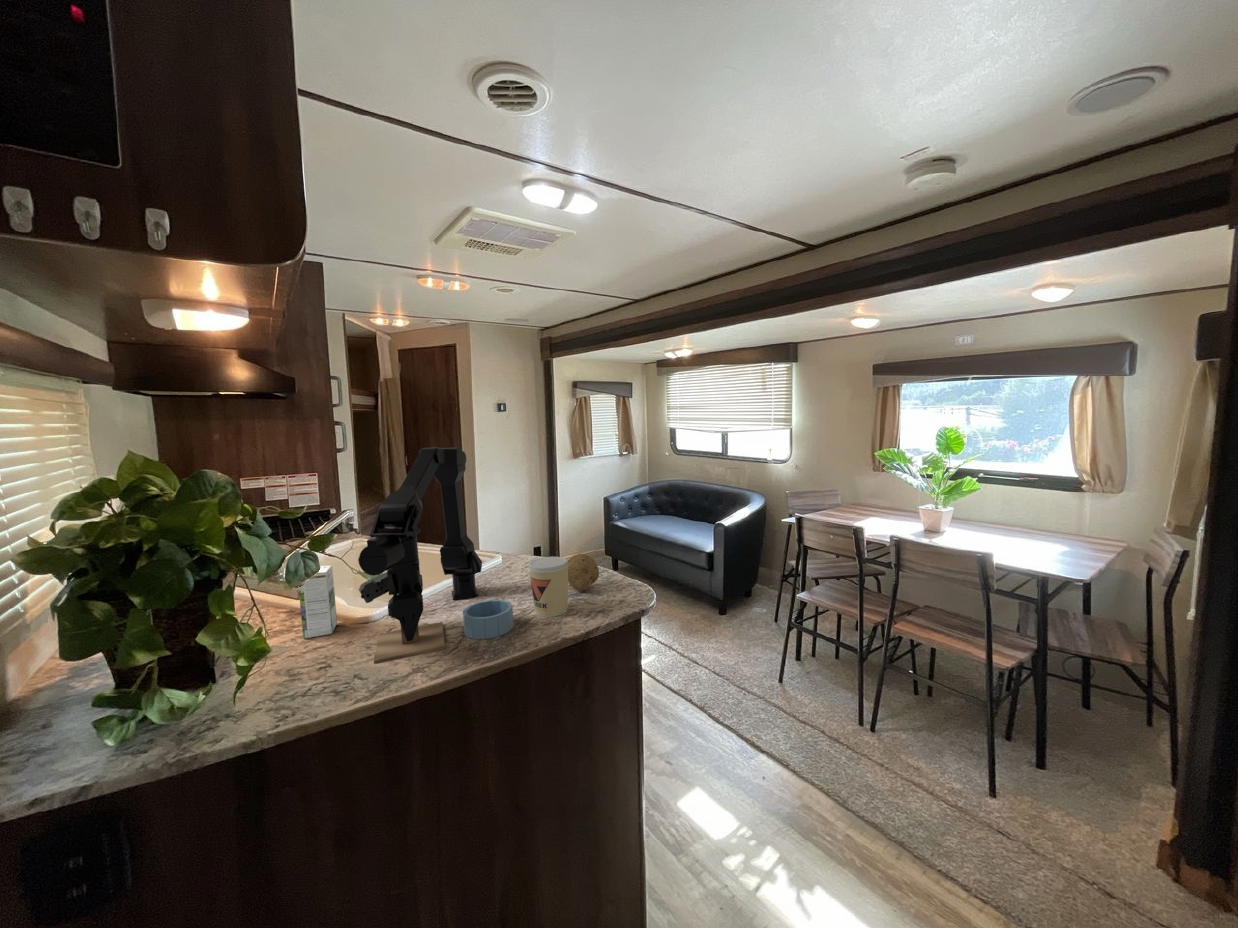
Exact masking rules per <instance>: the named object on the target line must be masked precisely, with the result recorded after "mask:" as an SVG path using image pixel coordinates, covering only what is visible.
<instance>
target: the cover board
mask: <svg viewBox="0 0 1238 928" xmlns="http://www.w3.org/2000/svg"><path fill="white" fill-rule="evenodd" d="M443 625H444V624H443V622H442V621H441V622H435V623H431V624H425V625H418V626H417V629H416V632H415V635H414V638H413V640H412V641H407V640H406V637H405V635H404V632H403V629H402V627H401V626H400V629H398V630H394V631H393V630H392V631H388V632H383V633H379V634H378V638H377V643H376V648H375V653H374V658H373V664H380V663H383V662H388V661H393V660H398V659H402V658H408V657H413V656H416V655H418V656H419V655H421V654H426V653H427V654H428V653H431V652H436V651H442V650H445V649H446V644H445V635H444V626H443Z"/></svg>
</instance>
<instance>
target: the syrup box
mask: <svg viewBox="0 0 1238 928" xmlns="http://www.w3.org/2000/svg"><path fill="white" fill-rule="evenodd" d="M319 566H320V570H319V572H318V573H317V574H316V575H314V576H313V577H312V578H310V579H309V580H308V581H307V582H306V583H305V584H304V585H303V586H301V587H299V586H298V597H299V606H300V607H299V608H300V609H299V610H300V617H301V619H300V620H301V629H302V639H311V638H317V637H323V636H328V635H333V633H334V631H335V628H336V627H337V625H338V617H337V606H336V595H335V594H336V593H335V583H334V571H333V570H334V569H333V565H319Z"/></svg>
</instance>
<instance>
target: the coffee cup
mask: <svg viewBox="0 0 1238 928" xmlns="http://www.w3.org/2000/svg"><path fill="white" fill-rule="evenodd" d="M567 561H568V560H567V558H564V557H563V556H562V557H561V556H545V557H539V558H535V559H533V560H531V561H530V563H529V565H528V570H529V576H530V577H529V578H530V584H531V592H532V598H533V606H534V612H535V614H536V615H537V616H539V617H543V618H552V617H553V618H554V617H558V616H562V615H564V614H565V613H566V612H567V611H568V603H569V601H568V599H569V597H568V596H569V595H568V594H569V582H568V562H567Z"/></svg>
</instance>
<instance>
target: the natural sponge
mask: <svg viewBox="0 0 1238 928" xmlns="http://www.w3.org/2000/svg"><path fill="white" fill-rule="evenodd" d="M567 562H568V585H570V586H571V587H572V588H573V589H574V590H575V591H577V592H580V593H583V592H584V591H586V590H587V589H588V588H589V587H590V586H591V585H592V584H594V583H595V582H596V581H597V580H598V579H599V576H600V569H599V566H598V564H597V562H596V560H595V559H594V558H593V557H591V556H590V555H588V554H585V553H577V554H575V555H573V556H571V557H570V558H569V559H568V560H567Z"/></svg>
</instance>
